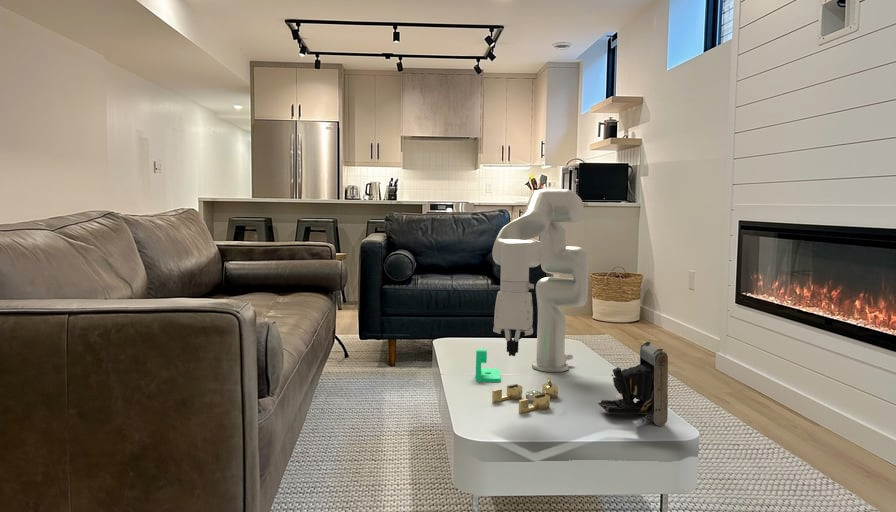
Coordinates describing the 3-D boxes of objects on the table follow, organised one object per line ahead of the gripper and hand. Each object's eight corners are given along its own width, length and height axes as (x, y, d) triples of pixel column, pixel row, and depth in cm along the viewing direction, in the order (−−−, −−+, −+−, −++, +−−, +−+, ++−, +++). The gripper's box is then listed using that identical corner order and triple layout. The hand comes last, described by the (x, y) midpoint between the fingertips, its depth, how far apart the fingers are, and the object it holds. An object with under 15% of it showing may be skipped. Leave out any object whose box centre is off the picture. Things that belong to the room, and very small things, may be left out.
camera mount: (500, 387, 179) (501, 354, 178) (475, 386, 179) (476, 353, 178) (498, 376, 190) (499, 345, 190) (475, 375, 191) (476, 344, 190)
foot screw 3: (558, 399, 163) (558, 386, 163) (542, 398, 163) (542, 386, 163) (556, 388, 173) (556, 376, 173) (541, 387, 173) (541, 376, 173)
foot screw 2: (540, 403, 159) (541, 390, 158) (552, 407, 155) (553, 395, 155) (513, 410, 153) (514, 397, 152) (525, 415, 149) (526, 402, 149)
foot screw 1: (514, 393, 167) (514, 381, 167) (525, 397, 164) (525, 385, 163) (487, 400, 161) (488, 387, 161) (498, 404, 157) (498, 391, 157)
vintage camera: (596, 415, 155) (596, 343, 153) (652, 413, 156) (653, 340, 155) (609, 430, 146) (609, 352, 144) (668, 426, 147) (669, 350, 145)
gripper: (543, 287, 157) (541, 354, 158) (488, 284, 160) (487, 350, 162) (541, 290, 150) (539, 360, 151) (484, 287, 153) (482, 356, 154)
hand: (512, 354), depth 156 cm, fingers closed
